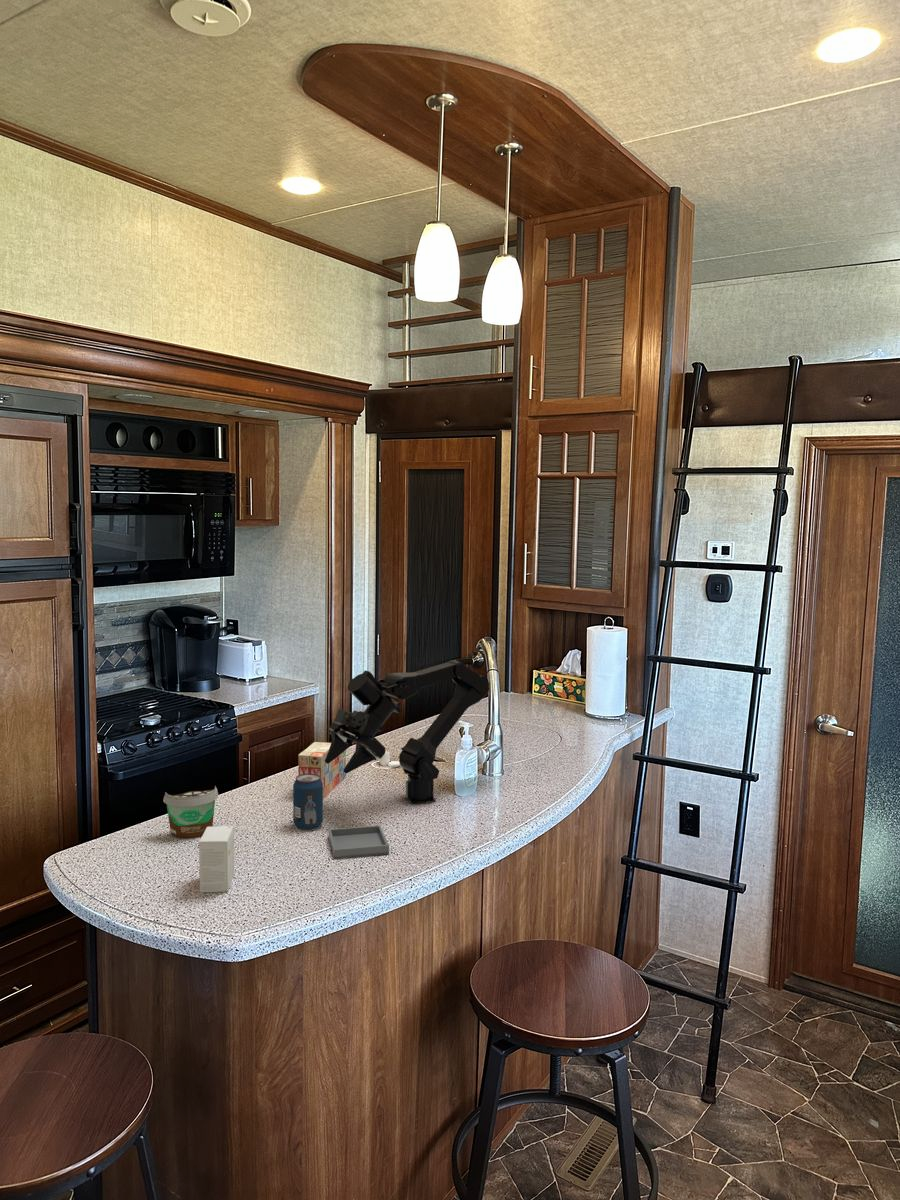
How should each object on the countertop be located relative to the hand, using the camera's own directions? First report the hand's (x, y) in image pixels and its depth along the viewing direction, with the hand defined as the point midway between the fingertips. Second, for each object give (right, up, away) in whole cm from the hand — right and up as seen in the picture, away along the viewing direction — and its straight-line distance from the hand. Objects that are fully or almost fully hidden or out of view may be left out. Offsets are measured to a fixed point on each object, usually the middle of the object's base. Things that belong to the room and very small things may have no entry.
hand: (335, 767), depth 201 cm
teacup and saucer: (+8, -9, +43) cm, 44 cm away
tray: (+7, -15, -14) cm, 22 cm away
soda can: (-6, -14, -3) cm, 15 cm away
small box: (-19, -17, -34) cm, 42 cm away
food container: (-31, -14, -9) cm, 35 cm away
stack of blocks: (-7, -11, +25) cm, 28 cm away
